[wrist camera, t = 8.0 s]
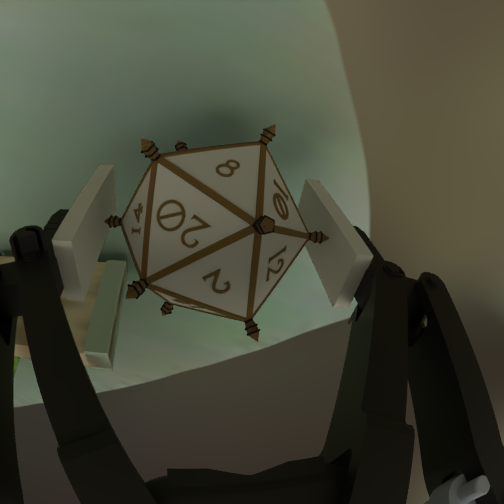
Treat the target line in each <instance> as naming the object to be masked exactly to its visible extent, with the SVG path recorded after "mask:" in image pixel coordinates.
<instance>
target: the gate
mask: <svg viewBox="0 0 504 504" xmlns="http://www.w3.org/2000/svg"><path fill="white" fill-rule="evenodd" d="M14 261H15V259H14V257H7V256H0V264H5V263H10V262H14ZM127 281H128V277H127V267H126V261H118V260H107V262H97V264H96V267H95V270H94V273H93V276H92V279H91V282H90V285H89V288H88V291H87V294H86V298H85V301H76V300H67V299H66V296H65V292H64V289H63V292H62V295H61V297H60V298H61V301H62V304H63V307H64V310H65V314H66V317H67V320H68V323H69V326H70V329H71V332H72V334H73V337H74V340H75V343H76V345H77V348H78V351H79V353H80V356H81V359H82V361H83V364H84V366H89V367H90V369H100V370H111V371H113V365H114V358H115V350H116V343H117V337H118V330H119V324H120V318H121V312H122V307H123V301H124V296H125V291H126V286H127ZM14 356H19V357H25V358H31V356H30V351H29V347H28V343H27V338H26V333H25V328H24V323H23V317H22V316H18V319H17V328H16V339H15V352H14Z"/></svg>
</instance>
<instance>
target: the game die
mask: <svg viewBox="0 0 504 504" xmlns="http://www.w3.org/2000/svg"><path fill="white" fill-rule="evenodd" d="M263 130H264V131H263V133H262V134H260V135H261V139H260V141H257V142H247V143H237V144H228V145H219V146H211V147H203V148H196V149H189V150H187V147H186V144H185V143H183V142H180V141H179V140H178V142H177V144H176V145H175V147H176V150H177V151H176V152H169V153H163V154H159V153H158V150H159V149H158V148H157V147H156V146H154V145H155V143H154V142H153V141H148V140H145V139H142V138H141V142H142V150H141V153H144V154H145V157H146V158H147V157H148V158H150V159H151V160H152V161H151V163H150V165H149V167H148V169H147V170H146V172H145V174H144V176H143V178H142V180H141V181H140V183H139V185H138V187H137V189H136V191H135V193H134V195H133V197H132V199H131V201H130V203H129V205H128V207H127V209H126V211H125V213H124V215H123V217H122V218H118V217H117V216H115V217H114V216H112V215H111V216H110V217H109V218H107V219H106V220H105V221H104V222H105V223H106V224H107V225H109V228H111V227H114V228H116V227H117V226H121V228H122V231H123V234H124V237H125V239H126V242H127V245H128V248H129V251H130V253H131V256H132V259H133V261H134V264H135V267H136V269H137V272H138V275H139V277H140V280H139V281H133V283H132V284H131V285H130V284H128V291H127V295H126V299H127V298H136V299H138V298H139V296H140V295H142V294H143V293H144V291H145V288H148V289H150V290H151V291H153V292H154V293H155V294H157V295H158V296H160V297H161V298H163V299H164V300H165V301H167V302H164V304H163V306H162V307H161V309H160V310H161V311H162V315H163V316H164V315H166V314H171V313H172V312H171V310H173V305H176V306H180V307H184V308H188V309H192V310H196V311H200V312H204V313H208V314H213V315H217V316H221V317H225V318H230V319H234V320H239V321H243V322H245V326H246V328H245V330H246V331H247V336H250V337H251V338H253V339H254V340H256V341H257V342H258V337H259V331H260V329H258V327H257V324H256V323H255V322H254V321H253V317H254V316H255V314H256V313H257V312H258V310H259V309H260V307H261V306H262V305H263V303H264V302H265V301H266V299H267V298H268V296H269V295H270V294H271V292H272V291H273V289H274V288H275V287H276V285H277V284H278V282H279V281H280V280H281V278H282V277H283V275H284V274H285V273H286V271H287V270H288V268H289V267H290V266H291V264H292V263H293V261H294V260H295V258H296V257H297V256H298V254H299V253H300V251H301V250H302V248H303V247H304V246H305V244H306V243H307V241H312V242H314V243H319V244H321V243H322V242H324V241H326V240H328V239H329V237H327V236H326V235H325V234H323V233H322V231H320V232H317V231H315V232H312V233H310V232H308V230H307V227H306V225H305V223H304V221H303V219H302V217H301V215H300V213H299V211H298V208H297V206H296V204H295V202H294V200H293V198H292V196H291V194H290V192H289V190H288V188H287V186H286V184H285V182H284V180H283V178H282V176H281V174H280V172H279V170H278V168H277V166H276V164H275V162H274V160H273V158H272V156H271V154H270V152H269V150H268V148H267V144H268V143H269V142H270V141H272V138H273V137H275V136H276V135H275V125H273V126H271V127H268V128H266V129H263Z"/></svg>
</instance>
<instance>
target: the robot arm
mask: <svg viewBox="0 0 504 504" xmlns="http://www.w3.org/2000/svg"><path fill="white" fill-rule="evenodd" d="M298 211H299V213H300V215H301V217H302V219H303V221H304V223H305V225H306V227H307V230H308V232H310V233H312V232H315V231H317V232H320V231H322V233H323V234H325V235H326V236H327V237H329V239H328V240H326V241H324V242H322V243H321V244H319V243H314V242H312V241H307V243H306V244H305V247H306V249H307V251H308V253H309V255H310V257H311V260H312V262H313V264H314V266H315V268H316V270H317V273H318V275H319V277H320V279H321V281H322V284H323V286H324V288H325V290H326V293H327V295H328V297H329V299H330V301H331V304H332V306H333V308H336V307H349V306H350V304H351V302H352V300H353V298H354V297H355V299H356V301H357V303H358V304H357V306H356V308H355V310H354V312H353V314H352V315H351V317H350V319H349V321H348V324H350V323H351V321H352V326H351V331H350V337H349V342H348V348H347V353H346V358H345V363H344V368H343V373H342V377H341V381H340V386H339V391H338V395H337V399H336V403H335V408H334V411H333V415H332V419H331V423H330V427H329V431H328V434H327V438H326V442H325V445H324V447H323V450H322V451H321V453H320V455H319V456H318V457H313V458H307V459H301V460H296V461H288V462H286V463H283V464H281V465H278V466H276V467H273V468H270V469H268V470H265V471H262V472H260V473H257V474H254V475H242V474H235V473H229V472H223V471H217V470H212V469H167V471H168V472H167V473H168V475H167V476H162V477H158V478H155V479H152V480H149V481H148V482H144V480H143V479H142V477H141V476H140V474H139V473H138V471H137V469H136V468H135V466H134V464H133V463H132V461H131V460H130V458H129V456H128V454H127V453H126V451H125V449H124V447H123V446H122V444H121V442H120V440H119V438H118V437H117V435H116V433H115V431H114V429H113V427H112V425H111V423H110V421H109V419H108V417H107V415H106V413H105V411H104V409H103V407H102V405H101V403H100V400H99V398H98V396H97V394H96V392H95V390H94V387H93V385H92V383H91V380H90V378H89V376H88V373H87V371H86V368H85V366H84V364H83V361H82V359H81V356H80V353H79V351H78V348H77V345H76V343H75V340H74V337H73V334H72V332H71V329H70V326H69V323H68V320H67V317H66V314H65V310H64V307H63V304H62V301H61V298H60V297H61V295H62V292H63V289H64V292H65V296H66V299H67V300H76V301H85V298H86V294H87V291H88V288H89V285H90V282H91V279H92V276H93V273H94V270H95V267H96V264H97V261H98V258H99V255H100V252H101V249H102V247H103V244H104V241H105V239H106V236H107V233H108V231H109V225H107V224H106V223H105V222H104V221H105V220H106V219H107V218H109V217H110V216H111V215H112V216H114V215H115V213H116V207H115V183H114V164H100V165H99V166H98V168H97V169H96V170H95V172H94V173H93V175H92V176H91V178H90V179H89V181H88V182H87V184H86V185H85V187H84V188H83V190H82V191H81V193H80V194H79V196H78V197H77V199H76V200H75V202H74V203H73V205H72V207H71V208H70V210H63V209H60V210H59V211H57V212H56V213H55V214H53V215H52V216H51V218H50V219H49V221H48V224H46V226H45V227H44V230H42V228H41V227H38V226H33V225H31V226H25V227H23V228H20V229H18V230H17V231H15V232H14V233H13V234H12V236H11V237H10V241H9V242H10V245H11V249H12V252H13V255H14V259H15V261H14V262H10V263H5V264H0V504H24V501H23V493H22V487H21V481H20V475H19V468H18V460H17V451H16V442H15V428H14V405H13V375H14V352H15V339H16V328H17V319H18V316H22V317H23V323H24V328H25V333H26V338H27V343H28V347H29V351H30V356H31V360H32V364H33V368H34V371H35V375H36V379H37V382H38V386H39V389H40V392H41V396H42V399H43V402H44V405H45V408H46V411H47V414H48V417H49V420H50V422H51V425H52V428H53V430H54V433H55V436H56V438H57V441H58V447H57V451H58V456H59V458H60V461H61V463H62V466H63V468H64V470H65V472H66V475H67V477H68V479H69V481H70V483H71V485H72V487H73V489H74V491H75V493H76V495H77V497H78V499H79V501H80V502H81V504H406V499H407V494H408V488H409V481H410V474H411V467H412V458H413V447H414V438H415V433H414V428H413V426H412V425H408V424H406V422H405V415H406V402H407V383H408V382H407V381H409V386H410V391H411V396H412V402H413V407H414V413H415V419H416V425H417V431H418V438H419V445H420V452H421V461H422V468H423V475H424V480H425V484H426V488H427V491H428V494H429V497H430V498H429V500H428V501H426V502H425V503H424V504H504V446H503V444H502V441H501V437H500V433H499V429H498V426H497V422H496V418H495V414H494V411H493V407H492V404H491V401H490V397H489V394H488V391H487V388H486V385H485V382H484V379H483V376H482V373H481V370H480V367H479V364H478V362H477V359H476V356H475V354H474V351H473V348H472V346H471V344H470V341H469V338H468V336H467V333H466V331H465V329H464V326H463V324H462V321H461V319H460V317H459V314H458V312H457V310H456V308H455V306H454V303H453V301H452V299H451V297H450V295H449V293H448V291H447V288H446V286H445V284H444V283H443V281H442V280H441V279H440V278H439V277H438V276H436V275H435V274H431V273H429V272H423V273H422V274H421V275H420V277H419V279H418V280H415V279H411V278H407V277H406V276H405V273H404V271H403V270H402V269H401V268H400V267H399V266H397V265H396V264H394V263H392V262H389V261H385V260H384V259H383V258H382V256H381V255H380V253H379V252H378V251H377V249H376V248H375V246H373V243H372V242H371V241H369V240H370V239H369V238H368V237H367V235H366V234H365V233H364V232H363V231H362V230H361V229H359V228H358V227H357V226H352V224H351V223H350V221H349V220H348V219H347V217H346V216H345V215H344V213H343V212H342V210H341V209H340V208H339V206H338V205H337V204H336V202H335V201H334V200H333V198H332V197H331V196H330V194H329V193H328V192H327V190H326V189H325V188H324V186H323V185H322V184H321V183H320V181H318V180H311V179H306V180H305V184H304V188H303V191H302V195H301V199H300V203H299V206H298ZM426 318H427V326H426V327H425V325H424V321H425V320H426Z"/></svg>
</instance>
